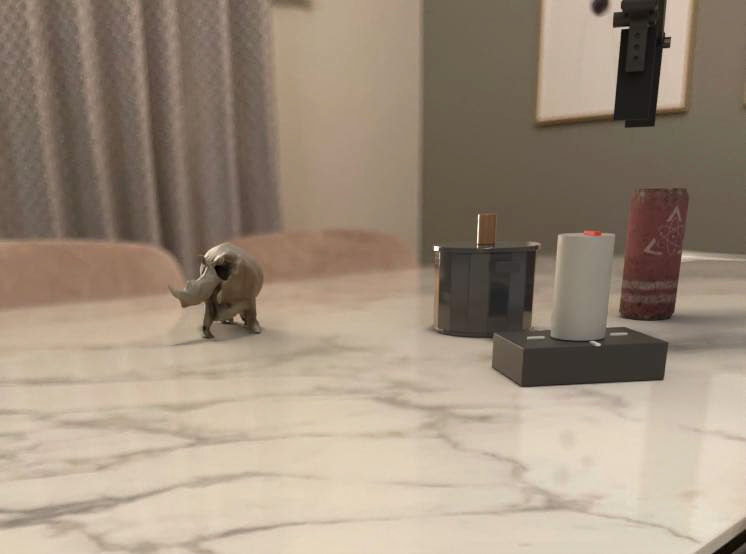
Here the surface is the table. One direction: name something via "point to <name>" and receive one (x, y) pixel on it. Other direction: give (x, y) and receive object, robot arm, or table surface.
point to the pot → (483, 292)
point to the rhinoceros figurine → (225, 287)
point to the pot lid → (486, 240)
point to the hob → (578, 357)
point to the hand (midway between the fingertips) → (635, 124)
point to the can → (653, 253)
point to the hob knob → (582, 285)
